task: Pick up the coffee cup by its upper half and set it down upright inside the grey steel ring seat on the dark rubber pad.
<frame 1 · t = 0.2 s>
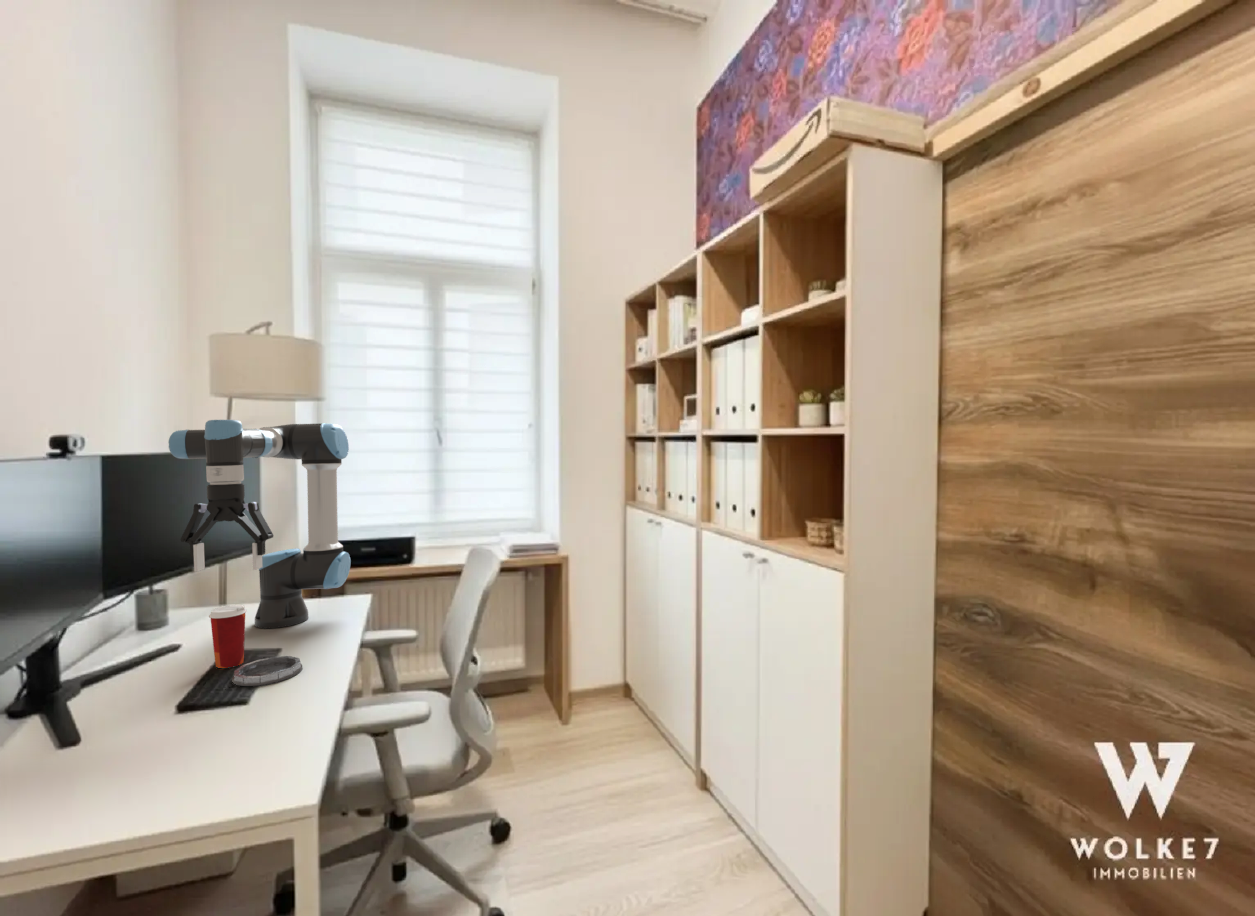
hand: (228, 569, 141), 27 cm above the table, fingers open, 13 cm apart
coffee cup: (229, 665, 152), on the table
ring seat: (268, 674, 145), on the table
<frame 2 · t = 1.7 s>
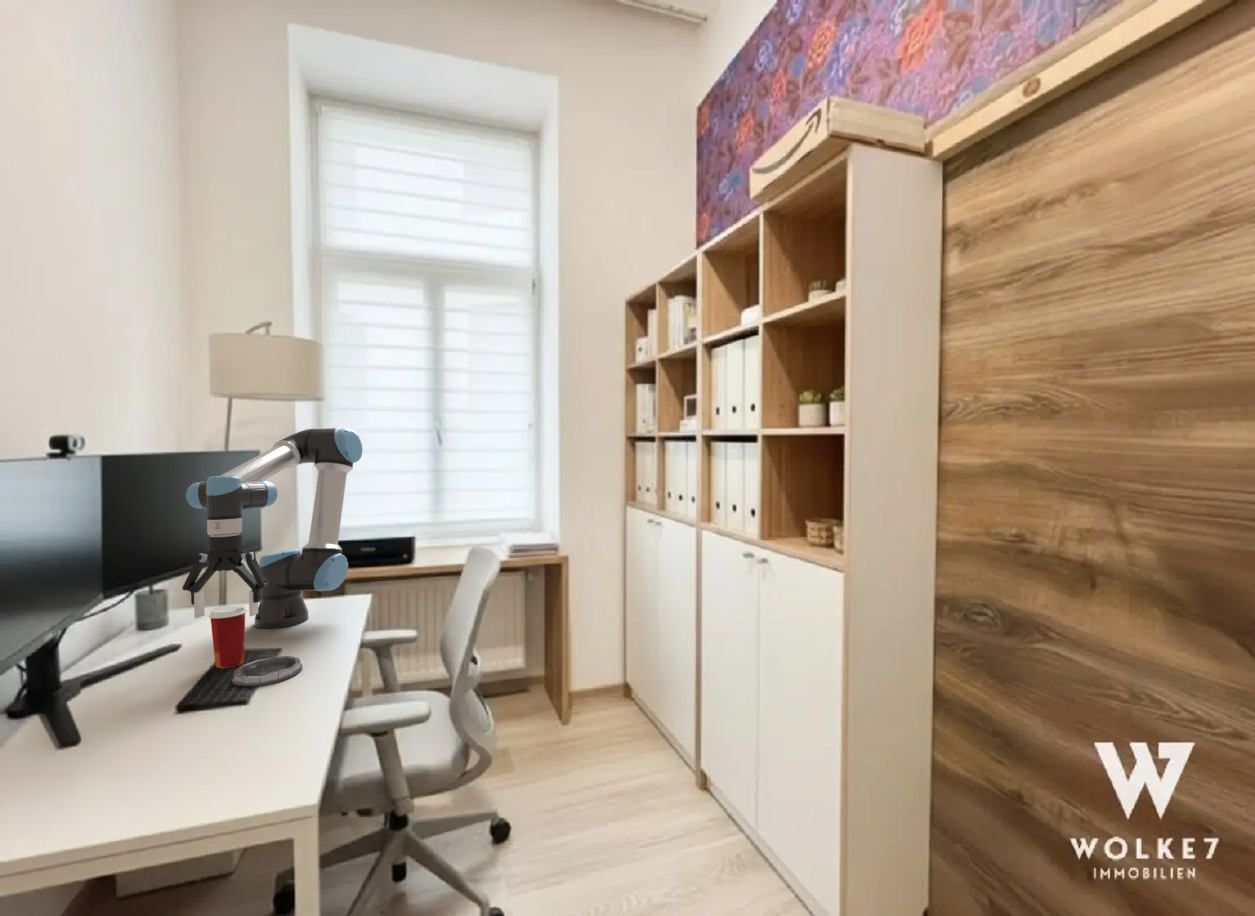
hand: (226, 615, 151), 13 cm above the table, fingers open, 13 cm apart
nothing on the table moved.
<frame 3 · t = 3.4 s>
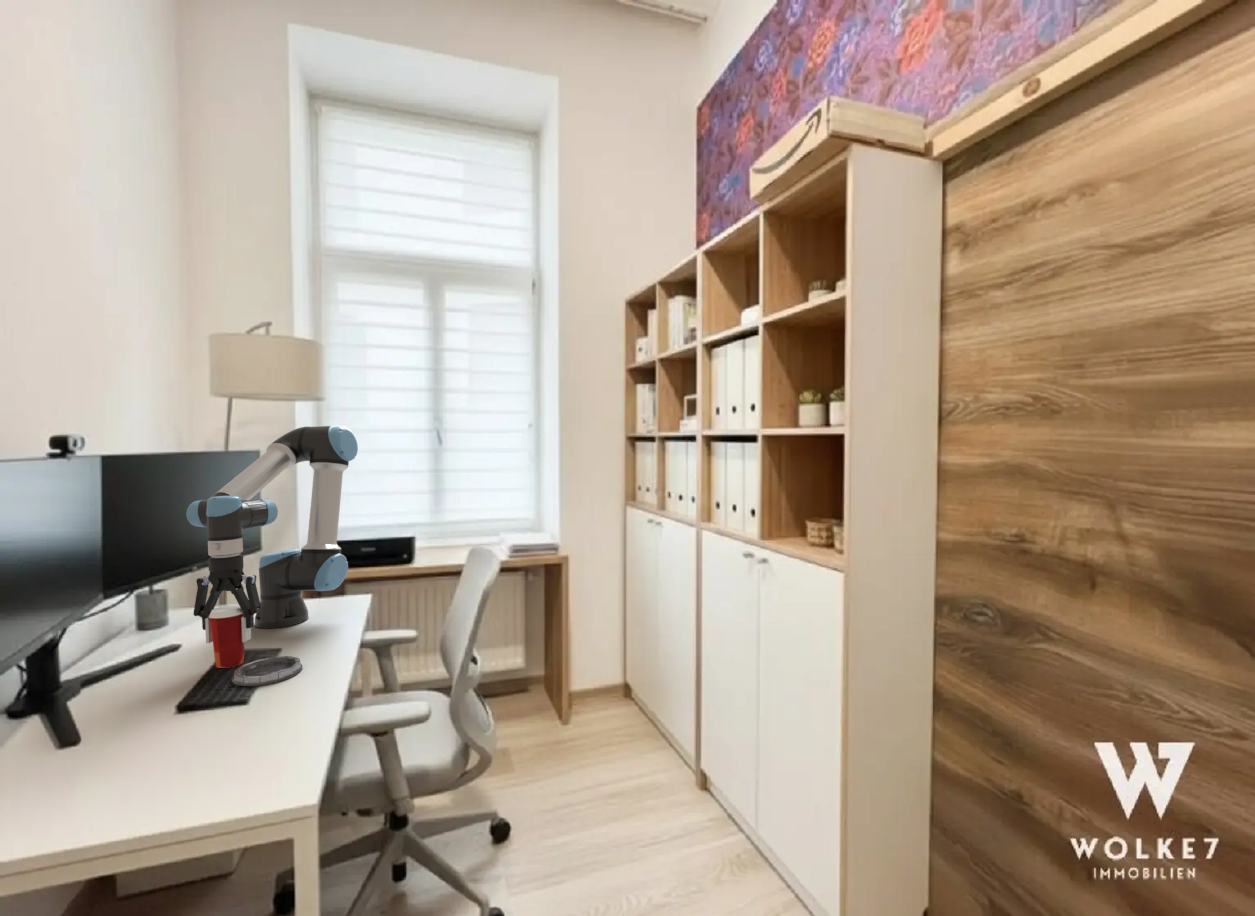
hand: (228, 640, 152), 6 cm above the table, fingers closed on coffee cup, 8 cm apart
coffee cup: (229, 665, 152), on the table, touching gripper
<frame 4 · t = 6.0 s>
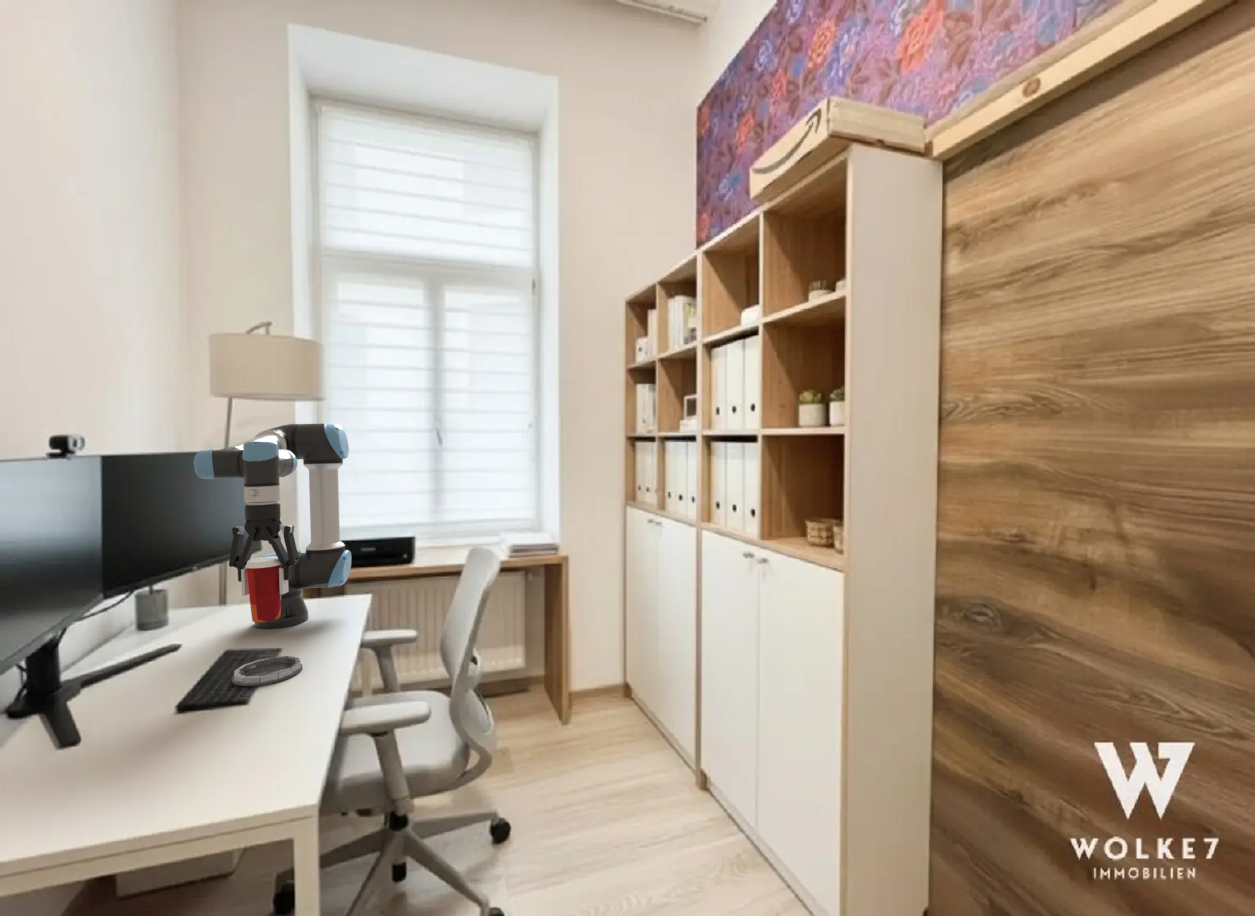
hand: (265, 593, 144), 20 cm above the table, fingers closed on coffee cup, 8 cm apart
coffee cup: (266, 619, 144), point 14 cm above the table, touching gripper
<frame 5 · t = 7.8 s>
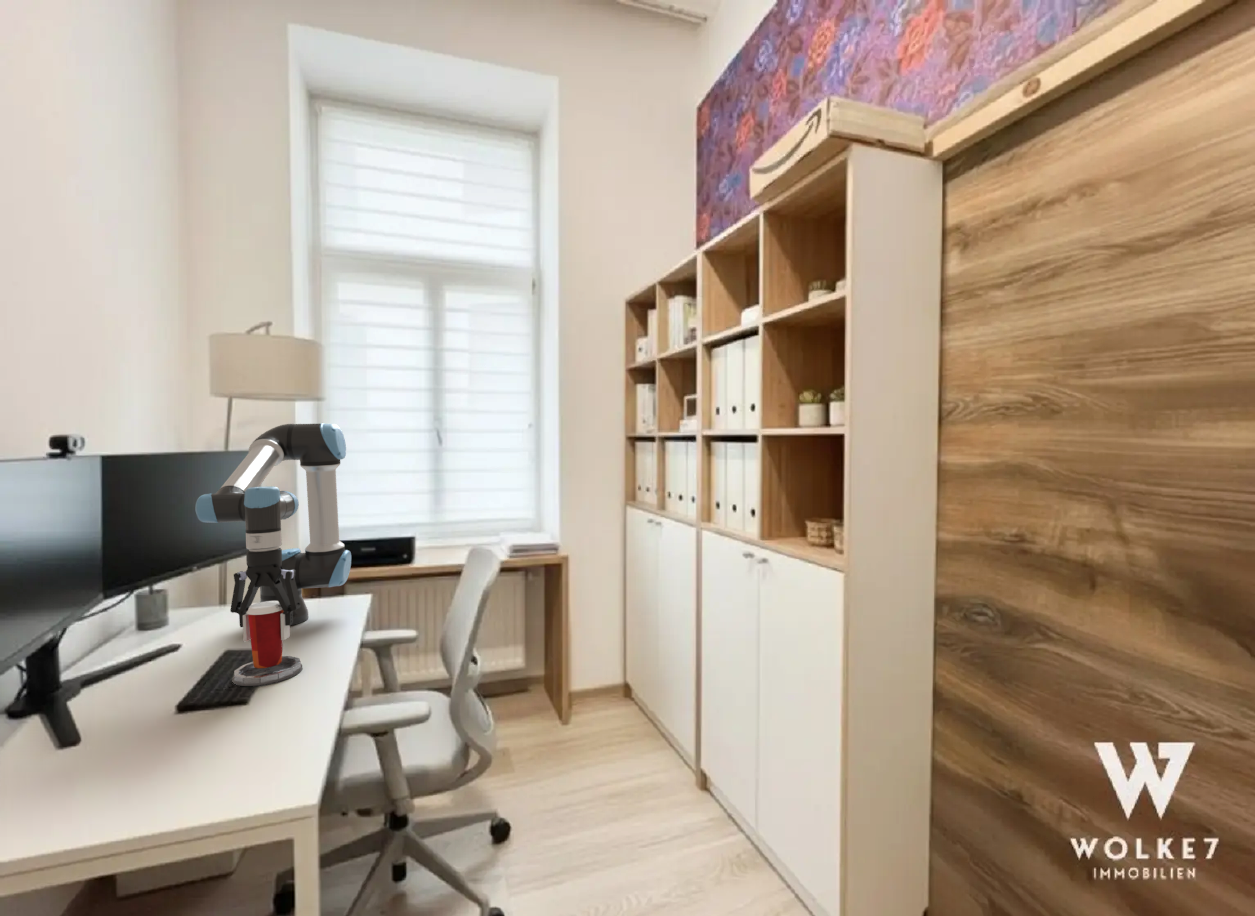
hand: (266, 638, 144), 9 cm above the table, fingers closed on coffee cup, 8 cm apart
coffee cup: (267, 664, 144), point 3 cm above the table, touching gripper
when the fingers open (8 cm above the table, at t = 9.0 s): coffee cup stays where it is, resting on ring seat.
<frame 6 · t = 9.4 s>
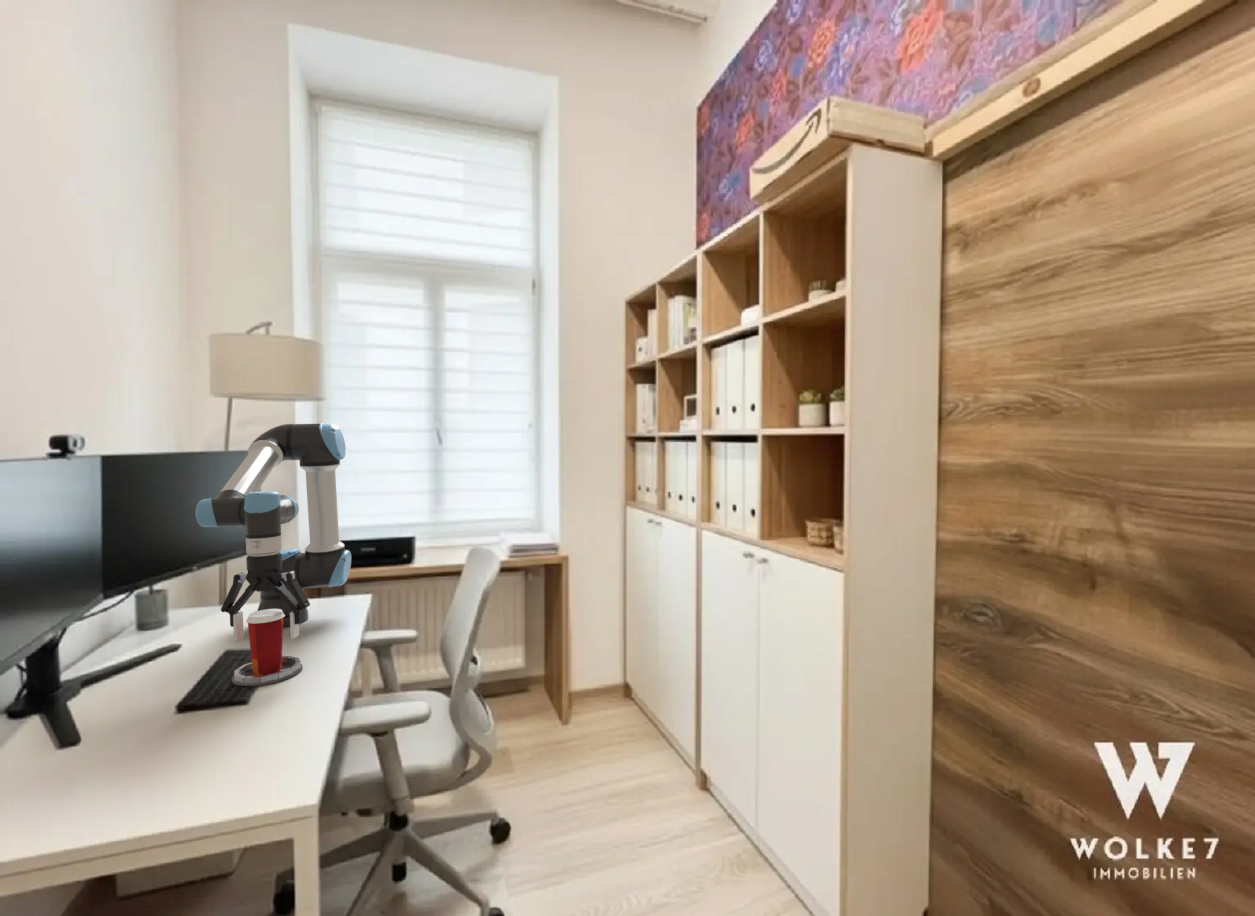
hand: (267, 638, 144), 9 cm above the table, fingers open, 13 cm apart
coffee cup: (267, 672, 145), resting on ring seat
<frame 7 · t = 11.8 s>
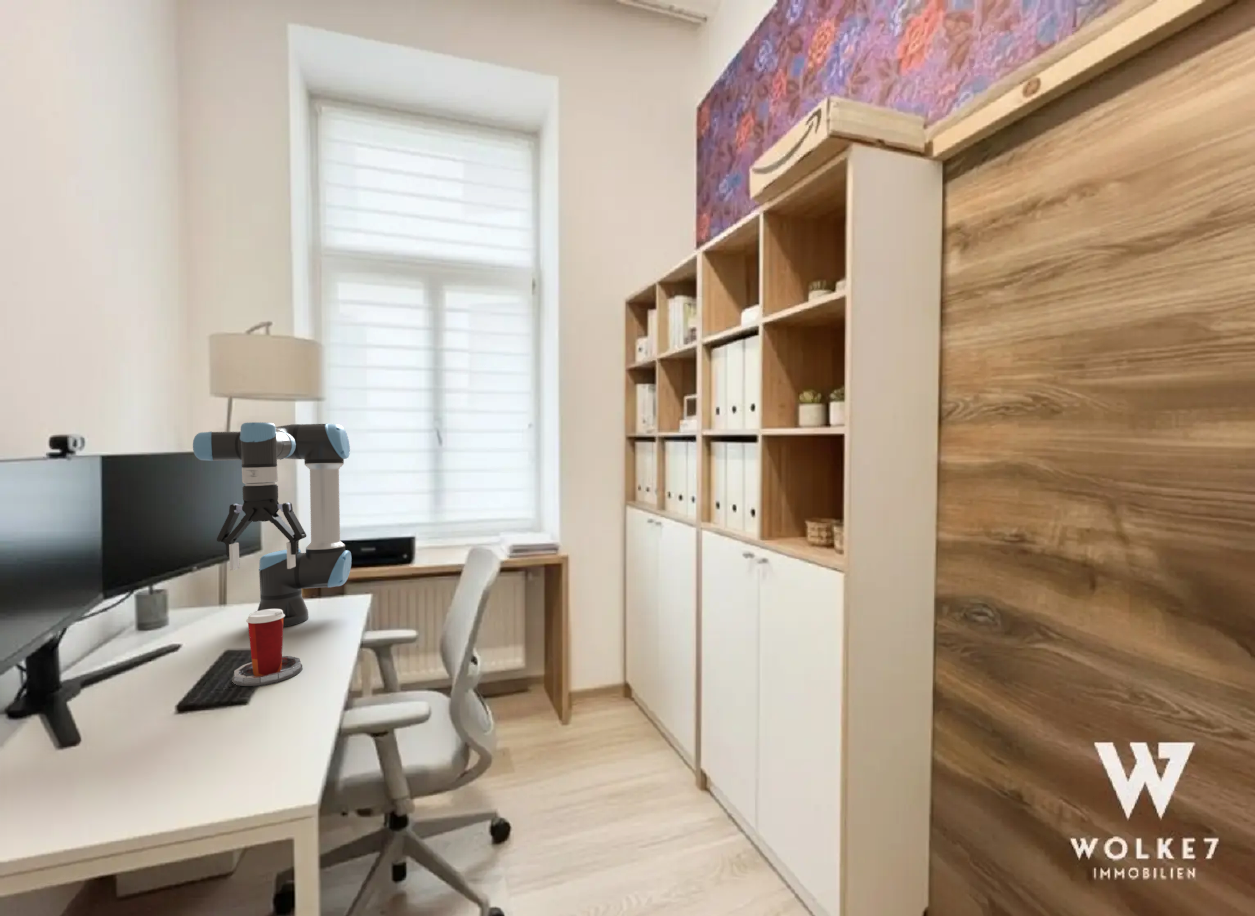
hand: (263, 568, 145), 26 cm above the table, fingers open, 13 cm apart
nothing on the table moved.
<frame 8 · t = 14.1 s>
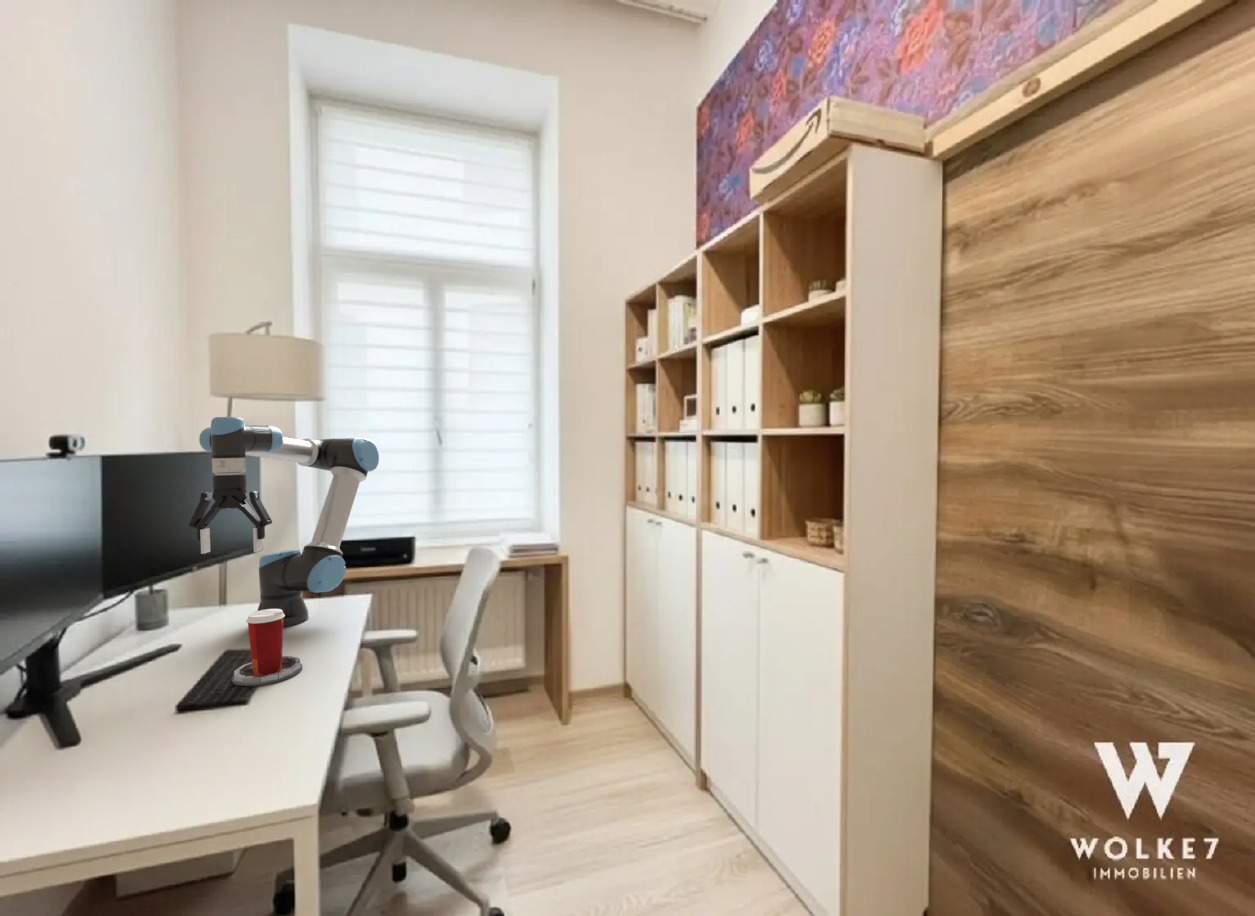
hand: (232, 552, 157), 29 cm above the table, fingers open, 13 cm apart
nothing on the table moved.
at the end: coffee cup 0.2 cm from the ring seat (horizontally); coffee cup tilted 0°; the gripper is holding nothing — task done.
